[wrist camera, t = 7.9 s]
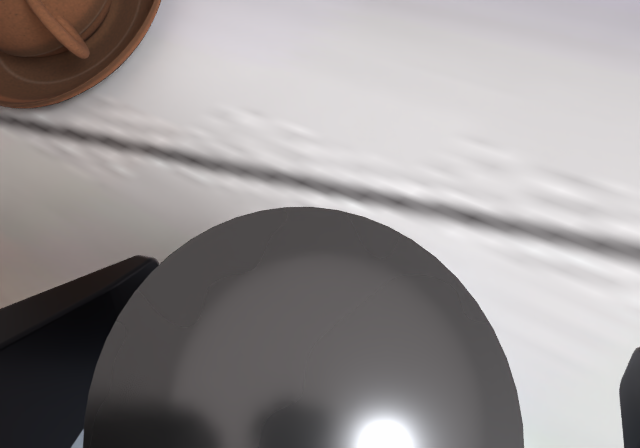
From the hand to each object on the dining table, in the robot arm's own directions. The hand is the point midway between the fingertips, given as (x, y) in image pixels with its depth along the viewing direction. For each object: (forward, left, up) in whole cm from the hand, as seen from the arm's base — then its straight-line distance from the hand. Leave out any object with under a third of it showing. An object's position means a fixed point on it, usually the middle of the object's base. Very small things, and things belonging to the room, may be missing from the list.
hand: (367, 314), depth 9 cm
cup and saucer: (-8, +21, -9) cm, 24 cm away
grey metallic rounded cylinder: (-1, -1, -7) cm, 8 cm away
